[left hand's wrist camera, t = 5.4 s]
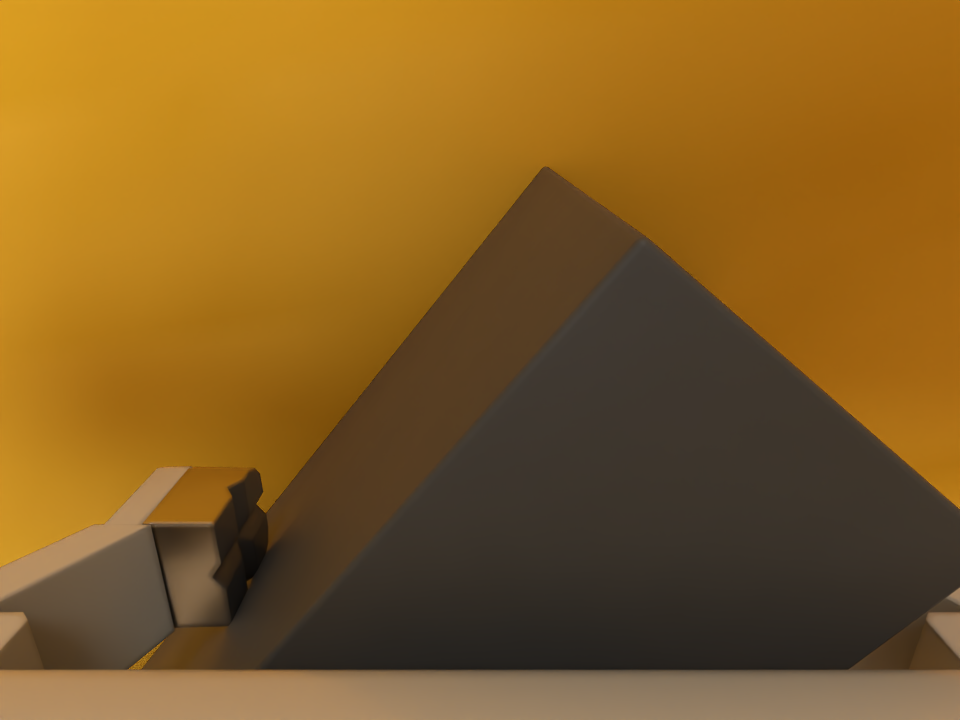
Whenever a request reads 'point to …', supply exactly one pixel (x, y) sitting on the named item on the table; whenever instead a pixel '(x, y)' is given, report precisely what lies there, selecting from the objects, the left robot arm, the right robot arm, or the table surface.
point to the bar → (587, 487)
